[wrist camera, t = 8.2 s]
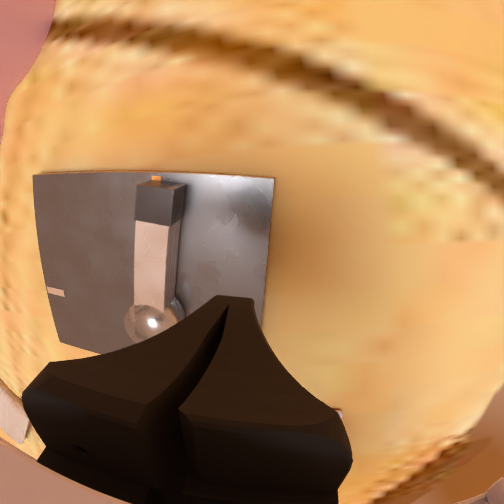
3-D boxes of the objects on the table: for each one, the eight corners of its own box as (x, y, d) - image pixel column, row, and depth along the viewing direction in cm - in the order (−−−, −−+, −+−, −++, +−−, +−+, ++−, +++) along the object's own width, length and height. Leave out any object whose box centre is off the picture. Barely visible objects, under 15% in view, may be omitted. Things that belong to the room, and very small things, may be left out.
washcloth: (-16, 398, 35) (-24, 407, 32) (-17, 355, 30) (-29, 365, 27) (28, 440, 37) (21, 450, 34) (38, 410, 31) (28, 423, 28)
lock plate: (255, 374, 23) (254, 383, 22) (65, 336, 24) (59, 342, 23) (274, 177, 18) (274, 179, 17) (40, 173, 19) (31, 175, 18)
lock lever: (183, 338, 21) (174, 357, 19) (137, 326, 21) (125, 343, 19) (198, 186, 17) (186, 191, 15) (142, 178, 18) (125, 183, 15)
